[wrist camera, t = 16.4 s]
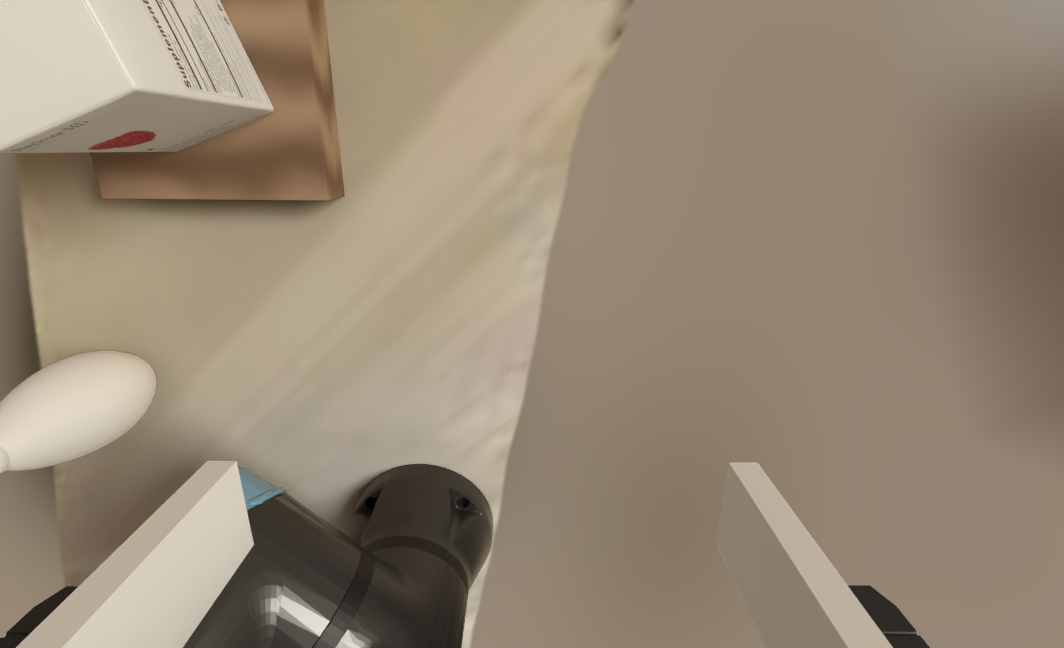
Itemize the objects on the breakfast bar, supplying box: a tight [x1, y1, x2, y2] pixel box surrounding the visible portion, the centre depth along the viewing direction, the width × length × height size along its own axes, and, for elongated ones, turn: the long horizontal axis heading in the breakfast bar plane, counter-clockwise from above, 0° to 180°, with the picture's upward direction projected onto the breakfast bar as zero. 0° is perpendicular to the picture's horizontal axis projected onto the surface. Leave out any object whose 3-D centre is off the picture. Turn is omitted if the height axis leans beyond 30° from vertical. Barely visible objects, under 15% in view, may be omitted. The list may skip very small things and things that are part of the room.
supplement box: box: [0, 0, 274, 153], centre depth 31 cm, size 9×9×15 cm
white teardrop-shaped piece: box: [0, 351, 156, 473], centre depth 42 cm, size 8×8×18 cm
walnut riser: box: [90, 0, 344, 200], centre depth 40 cm, size 18×18×4 cm
